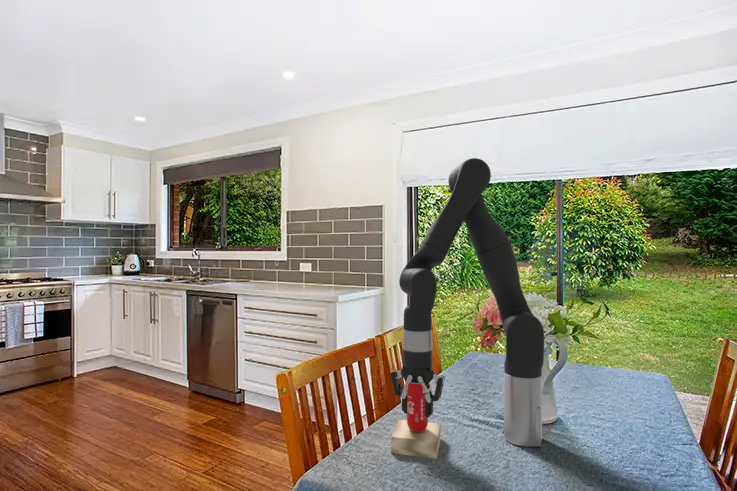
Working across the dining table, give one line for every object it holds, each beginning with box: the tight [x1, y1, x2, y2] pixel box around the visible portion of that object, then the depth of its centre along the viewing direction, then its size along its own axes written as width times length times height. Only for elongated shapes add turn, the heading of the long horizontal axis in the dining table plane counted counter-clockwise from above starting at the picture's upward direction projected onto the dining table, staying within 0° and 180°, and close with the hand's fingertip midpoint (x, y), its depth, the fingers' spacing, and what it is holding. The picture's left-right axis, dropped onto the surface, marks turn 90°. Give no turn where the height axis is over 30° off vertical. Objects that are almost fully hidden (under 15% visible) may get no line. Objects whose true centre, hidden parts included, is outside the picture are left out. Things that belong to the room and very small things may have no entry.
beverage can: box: [406, 381, 429, 432], centre depth 111 cm, size 5×5×12 cm
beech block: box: [390, 419, 442, 460], centre depth 111 cm, size 11×11×4 cm
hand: (417, 414), depth 111 cm, fingers closed on beverage can, 5 cm apart
